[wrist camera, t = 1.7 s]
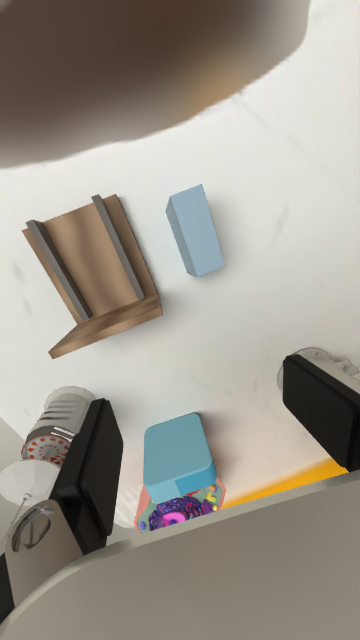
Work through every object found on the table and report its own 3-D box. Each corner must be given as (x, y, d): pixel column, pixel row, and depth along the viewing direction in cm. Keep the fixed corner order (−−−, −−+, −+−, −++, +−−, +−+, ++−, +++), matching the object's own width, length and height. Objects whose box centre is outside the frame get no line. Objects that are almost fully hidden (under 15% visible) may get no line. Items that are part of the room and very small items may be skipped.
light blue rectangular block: (189, 201, 31) (201, 183, 23) (208, 264, 34) (225, 266, 27) (165, 211, 31) (170, 196, 23) (187, 272, 34) (197, 277, 27)
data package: (151, 443, 44) (151, 507, 33) (144, 428, 43) (142, 490, 31) (202, 425, 45) (220, 482, 33) (197, 410, 43) (214, 464, 32)
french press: (35, 393, 37) (-169, 637, 13) (99, 378, 38) (13, 581, 14) (55, 433, 40) (-81, 687, 16) (113, 418, 41) (64, 639, 17)
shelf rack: (117, 196, 29) (98, 161, 19) (159, 296, 35) (163, 314, 24) (27, 231, 29) (-45, 216, 18) (83, 326, 34) (52, 359, 24)
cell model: (229, 459, 49) (251, 515, 39) (170, 506, 51) (175, 572, 41) (183, 424, 44) (194, 478, 33) (120, 478, 46) (111, 545, 35)
